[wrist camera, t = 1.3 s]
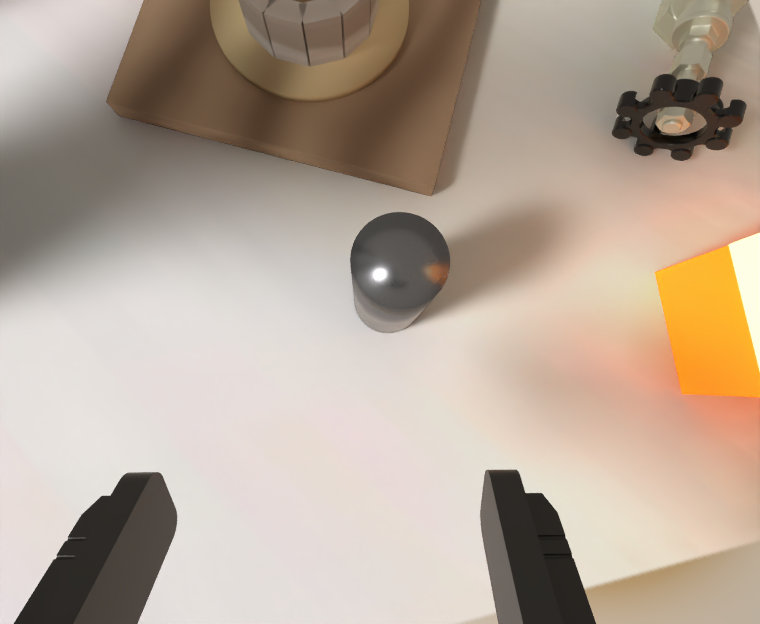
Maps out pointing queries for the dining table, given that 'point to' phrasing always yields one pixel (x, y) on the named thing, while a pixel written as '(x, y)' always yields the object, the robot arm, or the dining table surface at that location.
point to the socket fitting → (305, 79)
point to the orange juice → (715, 319)
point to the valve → (685, 83)
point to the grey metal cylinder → (397, 270)
